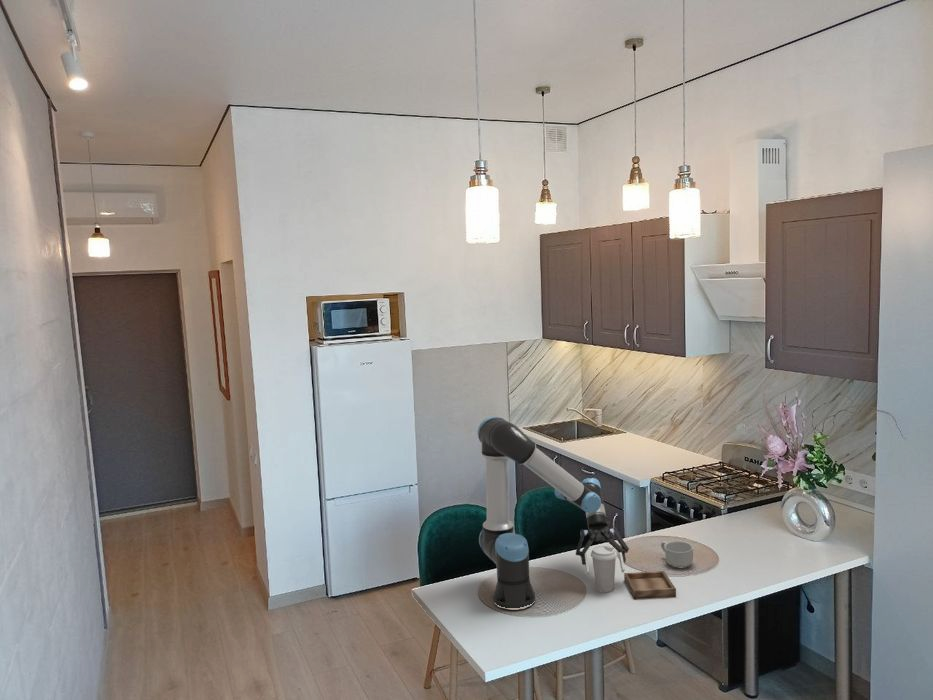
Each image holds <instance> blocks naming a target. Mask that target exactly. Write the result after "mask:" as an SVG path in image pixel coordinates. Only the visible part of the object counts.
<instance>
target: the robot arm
mask: <svg viewBox="0 0 933 700" xmlns="http://www.w3.org/2000/svg"><path fill="white" fill-rule="evenodd" d="M477 437H478V440H479V442H480V443H481V455H482V456H483V457H484V458H485V482H486V483H485V484H486V485H485V488H486V489H485V490H486V492H485V493H486V494H485V495H486V497H485V498H486V520H485V521H484V522H483V523H482V530H481V531H480V533H479V537H478V544H479V546H480V549H481V550H482V552H483V554H485V555H486V556H487V557H488V558H489V559H490V560H491V561H492V562H493V563H494V564H495V566H496V578H497V580H496V584H495V588H494V592H493V596H492V597H493V603H494V602H495V603H496V604H497V605H499V606H501V607H505V608H520V607H524V606H527V605H530V604H532V603H533V602H534V601H535V602H536V592H535V589H534V588H533V585H532V583H531V579H530V556H529V553H530V550H529V545H528V541H527V539H526V538H525V537H524V536H523V535H522V534H519V533H518V534H517V533H515V532H514V530H515V529H514V523H513V521H511V520H510V460H512V461H514V462H515V463H517V464H518V465H520V466H521V465H524V466H525V467H526V468H527V469H529V470H530V471H531V472H533V473H534V474H535V475H537V476H538V477H540V478H541V479H542V480H543V481H544V482H546V483H547V484H549V485H550V486H551V488H554V496H555V497H556V498H557V499H559V500H563V501H568V502H569V503H571V504H573V505H574V506H577V507H578V508H579V509H581V510H582V511H584V512H585V516H586V517H585V518H586V523H587V528H588V529H584V528H581V529H580V537H579V540H578V544H577V547H576V549H575V550H576V551H575V555H576V556H580V560H581V564H582V565H583V566H584V567H585V572H586V573H585V574H586V575H589V574H590V569H589V568H590V566H589V561H588V560H589V559H588V555H587V553H588V550H589V548H590V547H591V545H592V543H594V541H595V542H605V541H606V543H608V544H609V545H611V547H613V548H614V550H615V551H616V552H618V559H619V565H620V570H621V573H624V572H625V570H626V568H625V567H626V566H625V563H626V559H627V558H626V555H625V554H627V553H628V552H629V550H630V549H629V547H628V545H627V543H626V542H625V541H624V539H623V537H621V534H620V532H619V530H618V528H617V527H616V526H614V527H613V528H609V526H608V525H609V524H608V520H607V516H606V515H607V514H606V509H605V508H606V507H605V504H604V498H603V497H604V496H603V490H602V487H601V483H600V481H599V480H598V479H597V478H595V477H588V478H585V479H583V480H581V481H579V480H578V479H577V478H576V477H574V476H573V475H572V474H571V473H569V472H568V471H566V469H564V468H563V467H562V466H561V465H559V464H557V463H556V462H555V461H554V460H552V458H550V457H549V456H548V455H547V454H545V453H544V452H543V451H541V450H540V449H539V448H537V444H536V442H534V441H533V440H532V439H530V438H529V436H528V435H527V434H525V433H524V432H523V431H522V430H521V429H520V428H519V427H518V426H517V425H515V424H514V423H512V422H509V421H507V420H506V419H504V418H502V417H499V416H489V417H486V418H485V419H484V420H482V422H481V423H480V424H479V426H478V428H477ZM610 533H611V535H613V536H614V538H615V539H616V540H615V539H614V538H612V536H611V535H610ZM587 535H588V536H589V539H588V541H587V542H586V544H585V546H584V547H583V549H582V550H581V548H582V545H583V542H584V538H585V537H586V536H587ZM616 541H617V542H616Z"/></svg>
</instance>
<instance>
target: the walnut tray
mask: <svg viewBox="0 0 933 700" xmlns="http://www.w3.org/2000/svg"><path fill="white" fill-rule="evenodd" d="M623 573H624V572H623ZM623 575H624V577H623V578H624V582H625V585H626V586H627V589H628V590H629V592H630V594H631V596H632V597H633V600H643V599H645V600H646V599H660V598H663V599H664V598H676V597H677V588H676V587H675V585H674V584H673V582H672V580H671V579H670V578H669V577H668V575H667V573H666V572H665V571H664V570H657V571H656V570H654V571H640V572H638V571H636V572H625V573H624V574H623Z"/></svg>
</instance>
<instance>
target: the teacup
mask: <svg viewBox="0 0 933 700" xmlns="http://www.w3.org/2000/svg"><path fill="white" fill-rule="evenodd" d="M660 546H661V549H662V551H663V552H664V555H665V561H666V563H667V564H669V565H670V566H671V565H672V566H671V567H673V566H675V567H686V566H688V567H689V566H690V565H692V563H693V561H694V546H693V545H692V544H691V543H690V542H688V541H685V540H672V541H666V540H664V541H662V542H661V543H660ZM675 567H674V568H675ZM686 568H687V567H686Z"/></svg>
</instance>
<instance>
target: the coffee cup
mask: <svg viewBox="0 0 933 700" xmlns="http://www.w3.org/2000/svg"><path fill="white" fill-rule="evenodd" d="M590 556H591V559H592V565H593V566H592V567H593V574H594V583H595V589H596V590H597V591H598V592H600V593H611V592H613V591H614V590H615V578H616V577H615V576H616V575H615V574H616V559H617V557H618V554H617V550H616V549H615V548H614V547H613V546H610V545H596V546H594V547H593V548H592V550H591V552H590Z"/></svg>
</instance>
